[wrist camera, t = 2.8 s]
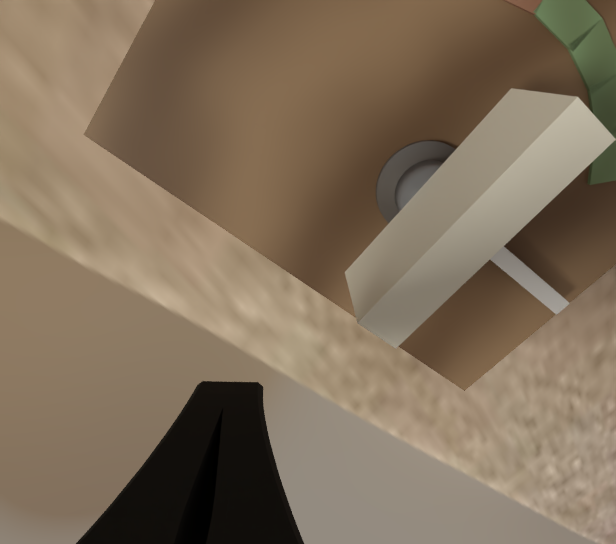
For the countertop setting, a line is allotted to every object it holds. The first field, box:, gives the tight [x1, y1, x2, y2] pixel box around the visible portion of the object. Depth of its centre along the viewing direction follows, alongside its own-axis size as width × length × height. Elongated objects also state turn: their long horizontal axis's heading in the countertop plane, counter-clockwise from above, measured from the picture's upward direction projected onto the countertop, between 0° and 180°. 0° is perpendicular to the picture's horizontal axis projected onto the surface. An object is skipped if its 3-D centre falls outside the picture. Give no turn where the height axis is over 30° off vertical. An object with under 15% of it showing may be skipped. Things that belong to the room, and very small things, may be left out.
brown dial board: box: [84, 0, 616, 391], centre depth 16 cm, size 20×16×2 cm
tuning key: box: [345, 88, 616, 348], centre depth 15 cm, size 9×8×5 cm
